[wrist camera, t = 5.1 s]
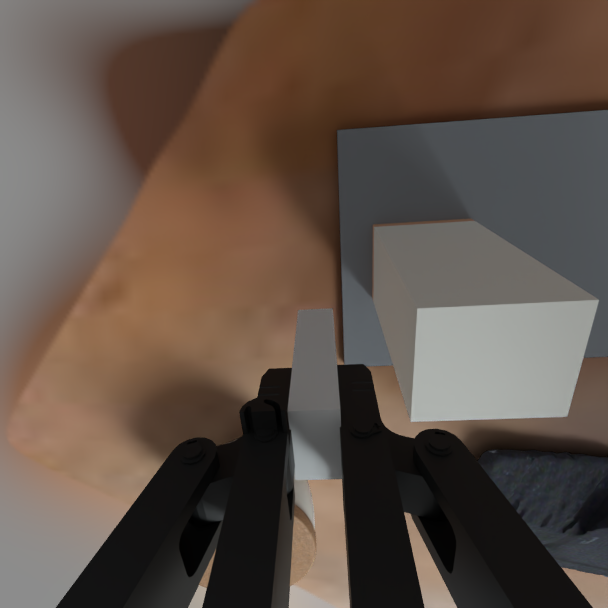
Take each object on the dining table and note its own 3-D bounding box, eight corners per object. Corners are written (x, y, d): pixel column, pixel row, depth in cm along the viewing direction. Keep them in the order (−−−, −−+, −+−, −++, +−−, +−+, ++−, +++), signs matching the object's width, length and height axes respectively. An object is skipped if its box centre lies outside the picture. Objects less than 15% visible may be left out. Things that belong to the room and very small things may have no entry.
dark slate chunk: (484, 409, 31) (510, 455, 27) (728, 463, 33) (790, 515, 29) (416, 530, 38) (428, 582, 34) (623, 570, 39) (660, 625, 35)
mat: (651, 350, 28) (657, 354, 28) (344, 362, 29) (344, 367, 29) (740, 99, 21) (751, 99, 21) (337, 130, 23) (337, 130, 22)
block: (463, 293, 26) (567, 416, 15) (372, 297, 26) (410, 421, 16) (471, 218, 24) (599, 300, 13) (372, 224, 24) (417, 308, 13)
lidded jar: (317, 416, 32) (317, 524, 23) (315, 506, 36) (314, 625, 28) (186, 412, 32) (139, 518, 23) (200, 503, 36) (165, 619, 28)
